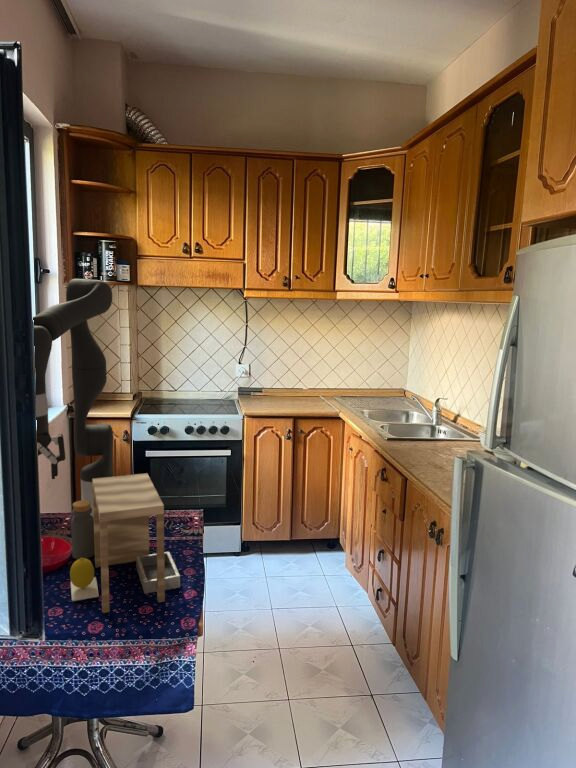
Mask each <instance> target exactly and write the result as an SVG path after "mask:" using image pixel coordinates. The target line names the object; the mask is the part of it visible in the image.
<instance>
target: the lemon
mask: <svg viewBox="0 0 576 768" xmlns="http://www.w3.org/2000/svg"><path fill="white" fill-rule="evenodd" d="M94 567H95V566H94V565H93V563H92V561H91V560H90V559H89V558H87V559H86V558H80V559H75V561H74V562H73V563H72V565H71V567H70V570H69V578H70V583H71V582H72V584H73V585H74V586H76V587H78V588H81V589H84V588H85V587H86V586H88V585H89V584H90V583H91V582H92V580H93V578H94V577H95V568H94Z"/></svg>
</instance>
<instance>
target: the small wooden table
mask: <svg viewBox="0 0 576 768" xmlns="http://www.w3.org/2000/svg"><path fill="white" fill-rule="evenodd" d="M92 483H93V514H94V546H95V554H94V565H95V566H94V567H95V568H99V567H100V576H101V577H100V580H101V581H100V584H101V609H102V610H101V612H102V614H106V613H110V609H111V606H110V583H109V582H110V580H109V579H110V575H109V572H110V571H109V566H113V565H121V564H126V563H131V562H136V557H137V556H143V555H150V516H155V517H156V519H155V520H156V528H155V529H156V530H155V531H156V533H155V534H156V535H155V536H156V553H157V592H156V595H157V596H156V599H157V602H158V603H164V602H165V601H166V600H165V599H166V597H165V596H166V595H165V593H166V592H165V591H166V590H165V576H164V552H165V505H164V503H163V501H162V498H161V497H160V495H159V493H158V491H157V488H155V485H154V483H153V481H152V480H151V477H150V476H149V473H148V472H146V473H135V474H124V475H118V476H117V475H116V476H114V475H113V477H104V478H94V479H92Z"/></svg>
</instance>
